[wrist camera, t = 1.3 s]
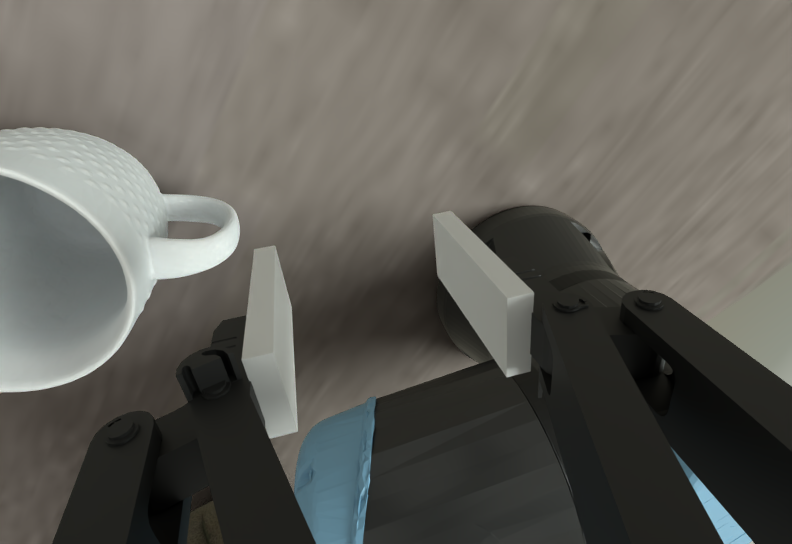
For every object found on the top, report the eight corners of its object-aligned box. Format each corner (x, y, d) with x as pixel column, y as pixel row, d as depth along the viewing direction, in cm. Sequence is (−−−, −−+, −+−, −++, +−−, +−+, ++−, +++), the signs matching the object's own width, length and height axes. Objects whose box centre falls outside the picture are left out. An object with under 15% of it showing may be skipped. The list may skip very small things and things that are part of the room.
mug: (241, 116, 30) (217, 164, 18) (250, 266, 34) (237, 377, 23) (-30, 102, 26) (-268, 150, 15) (23, 272, 31) (-124, 406, 19)
